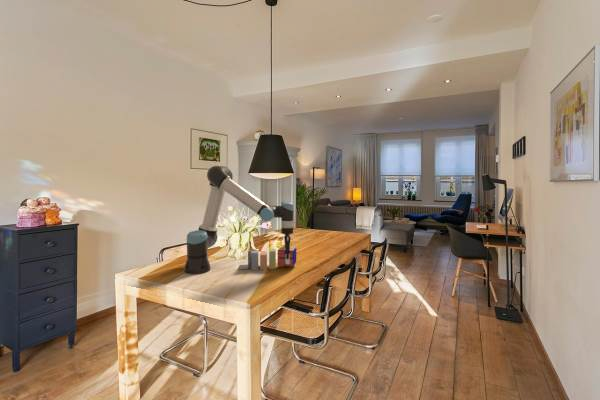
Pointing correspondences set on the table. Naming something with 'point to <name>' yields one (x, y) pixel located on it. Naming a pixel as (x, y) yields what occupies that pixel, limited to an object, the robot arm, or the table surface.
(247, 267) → the bookend
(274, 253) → the book
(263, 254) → the book
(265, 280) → the table surface
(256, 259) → the book
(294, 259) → the puzzle cube
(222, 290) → the table surface
